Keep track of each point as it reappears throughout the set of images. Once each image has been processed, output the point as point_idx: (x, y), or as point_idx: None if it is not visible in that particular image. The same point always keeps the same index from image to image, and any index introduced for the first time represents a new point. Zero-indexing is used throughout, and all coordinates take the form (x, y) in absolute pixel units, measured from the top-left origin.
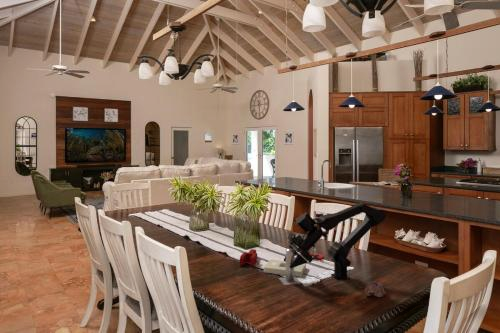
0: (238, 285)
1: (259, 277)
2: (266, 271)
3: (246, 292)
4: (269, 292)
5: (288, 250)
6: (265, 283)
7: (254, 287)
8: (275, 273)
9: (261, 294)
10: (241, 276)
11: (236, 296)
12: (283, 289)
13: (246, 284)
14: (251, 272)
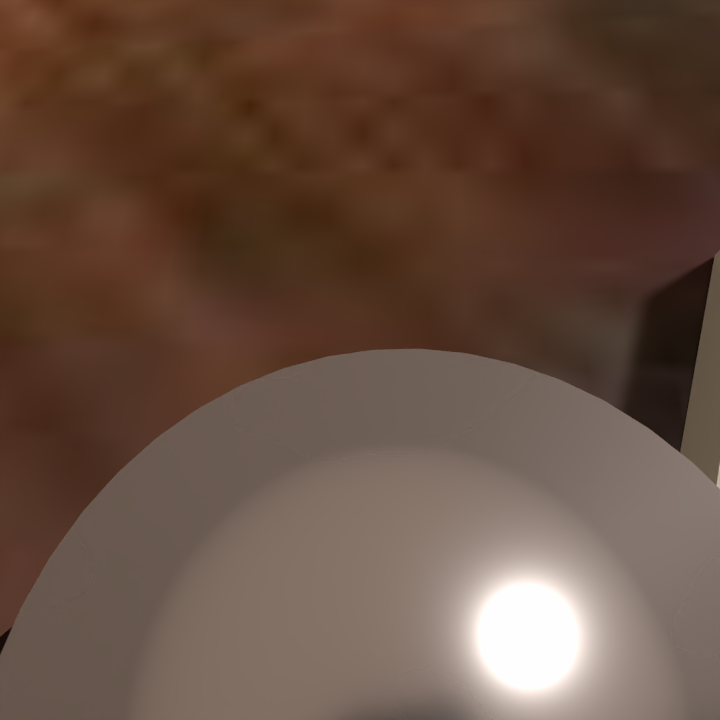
0: (276, 25)
1: (518, 207)
2: (717, 283)
3: (90, 93)
4: (35, 306)
5: (125, 540)
6: (314, 271)
7: (205, 158)
8: (689, 417)
9: (4, 223)
10: (532, 35)
11: (21, 26)
12: (86, 488)
13: (297, 86)
14: (685, 122)
